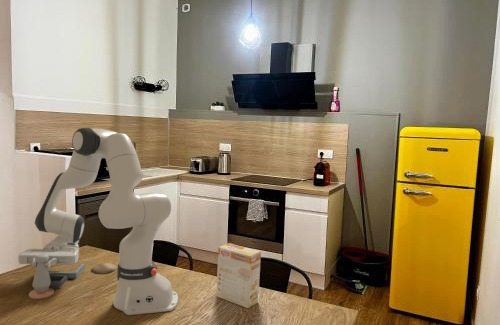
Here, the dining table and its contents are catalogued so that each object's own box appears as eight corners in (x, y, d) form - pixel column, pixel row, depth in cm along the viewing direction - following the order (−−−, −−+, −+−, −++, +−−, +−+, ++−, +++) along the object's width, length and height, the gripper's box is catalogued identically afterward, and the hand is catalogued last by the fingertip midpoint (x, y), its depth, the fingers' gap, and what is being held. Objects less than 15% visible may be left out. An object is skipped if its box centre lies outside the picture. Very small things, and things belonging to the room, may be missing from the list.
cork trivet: (106, 263, 166) (106, 261, 166) (122, 268, 161) (122, 266, 161) (87, 269, 158) (87, 267, 158) (103, 275, 153) (103, 272, 153)
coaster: (57, 289, 139) (57, 287, 139) (48, 299, 131) (48, 297, 131) (35, 289, 138) (35, 287, 138) (24, 299, 130) (24, 297, 130)
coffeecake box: (258, 302, 137) (261, 251, 135) (247, 309, 131) (250, 256, 129) (226, 290, 146) (229, 242, 144) (215, 296, 140) (217, 246, 138)
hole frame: (44, 278, 147) (44, 275, 146) (68, 278, 148) (68, 275, 148) (33, 288, 138) (33, 284, 138) (59, 288, 139) (59, 285, 139)
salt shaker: (43, 294, 131) (43, 258, 130) (28, 292, 132) (28, 257, 130) (54, 287, 137) (54, 253, 136) (39, 285, 137) (39, 251, 136)
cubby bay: (47, 268, 157) (47, 263, 156) (84, 268, 158) (84, 263, 158) (36, 278, 147) (36, 272, 147) (76, 278, 149) (76, 273, 148)
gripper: (28, 243, 144) (9, 256, 131) (82, 244, 147) (69, 256, 133) (28, 258, 145) (9, 273, 131) (82, 259, 147) (69, 273, 134)
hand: (40, 264), depth 132 cm, fingers closed on salt shaker, 3 cm apart
